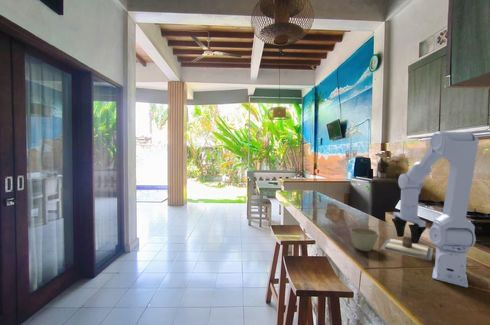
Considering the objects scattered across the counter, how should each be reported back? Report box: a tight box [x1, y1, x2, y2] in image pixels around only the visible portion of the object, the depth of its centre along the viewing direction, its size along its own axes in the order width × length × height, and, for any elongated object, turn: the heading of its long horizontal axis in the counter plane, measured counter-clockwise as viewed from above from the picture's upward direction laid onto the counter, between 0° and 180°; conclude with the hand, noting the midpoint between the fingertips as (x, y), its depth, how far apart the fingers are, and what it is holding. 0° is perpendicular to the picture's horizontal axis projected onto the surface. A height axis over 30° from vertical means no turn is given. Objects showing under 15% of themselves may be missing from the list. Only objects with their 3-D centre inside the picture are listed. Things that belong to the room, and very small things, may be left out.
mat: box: [379, 238, 434, 261], centre depth 99 cm, size 16×16×1 cm
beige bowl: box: [349, 227, 379, 252], centre depth 98 cm, size 10×10×7 cm
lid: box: [385, 236, 430, 258], centre depth 99 cm, size 13×13×4 cm
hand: (407, 239), depth 99 cm, fingers open, 7 cm apart
